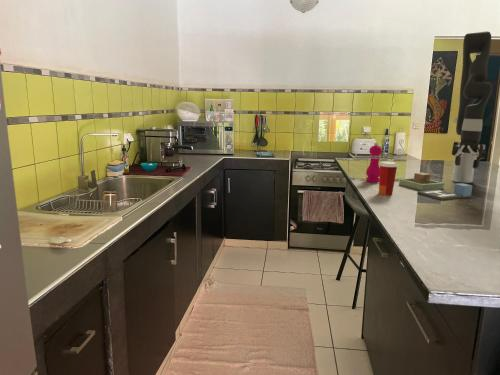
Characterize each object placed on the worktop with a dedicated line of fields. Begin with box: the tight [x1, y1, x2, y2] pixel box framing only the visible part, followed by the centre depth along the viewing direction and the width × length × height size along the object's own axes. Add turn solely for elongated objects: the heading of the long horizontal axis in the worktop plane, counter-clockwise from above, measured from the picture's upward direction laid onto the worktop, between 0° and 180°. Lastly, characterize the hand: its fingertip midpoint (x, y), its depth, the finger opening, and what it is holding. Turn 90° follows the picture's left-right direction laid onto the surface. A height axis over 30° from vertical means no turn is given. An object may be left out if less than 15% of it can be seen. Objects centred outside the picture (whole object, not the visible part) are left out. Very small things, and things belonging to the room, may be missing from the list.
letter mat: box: [416, 189, 464, 201], centre depth 172 cm, size 13×13×1 cm
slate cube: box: [452, 182, 473, 198], centre depth 174 cm, size 5×5×5 cm
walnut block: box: [413, 172, 431, 184], centre depth 188 cm, size 5×5×6 cm
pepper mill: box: [365, 142, 383, 183], centre depth 197 cm, size 7×7×20 cm
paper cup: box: [378, 161, 398, 196], centre depth 171 cm, size 8×8×14 cm
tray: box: [398, 177, 445, 191], centre depth 189 cm, size 14×14×3 cm
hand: (465, 166), depth 171 cm, fingers open, 8 cm apart
